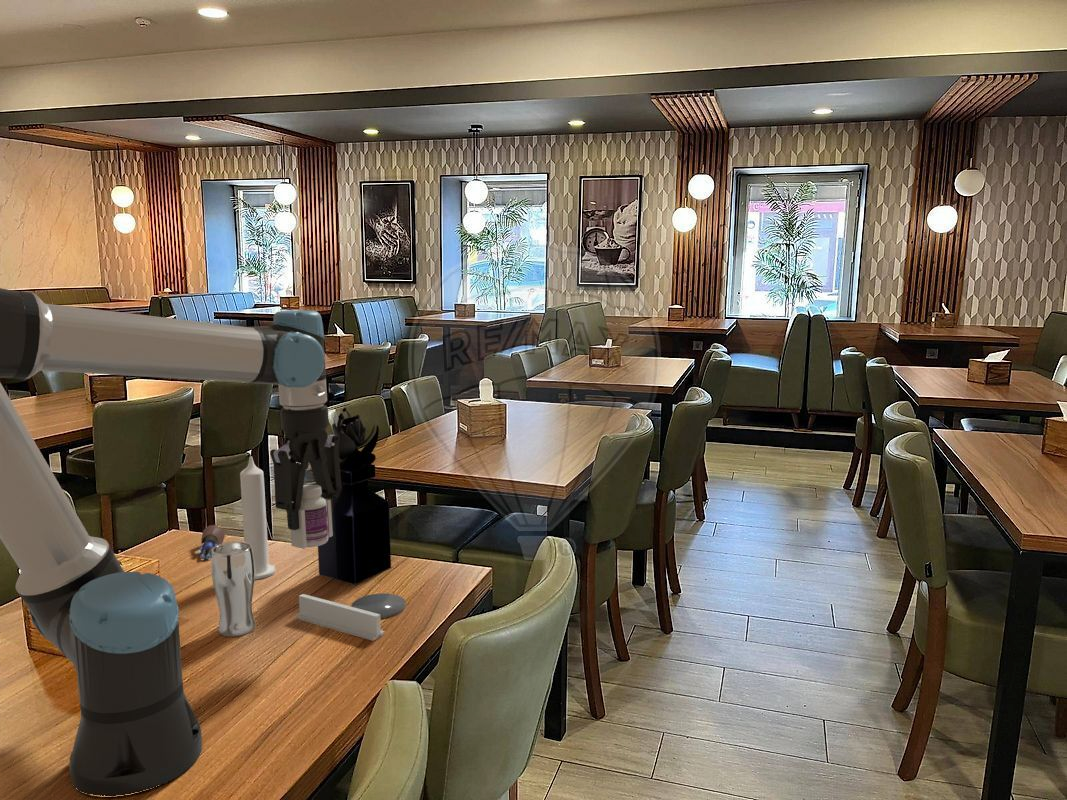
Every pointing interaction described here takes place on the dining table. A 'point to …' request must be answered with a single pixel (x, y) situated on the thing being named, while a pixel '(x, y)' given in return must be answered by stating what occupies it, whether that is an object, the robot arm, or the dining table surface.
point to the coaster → (381, 604)
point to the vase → (356, 511)
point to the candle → (255, 518)
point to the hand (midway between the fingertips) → (312, 540)
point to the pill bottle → (315, 515)
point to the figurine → (210, 540)
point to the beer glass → (234, 586)
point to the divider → (340, 617)
